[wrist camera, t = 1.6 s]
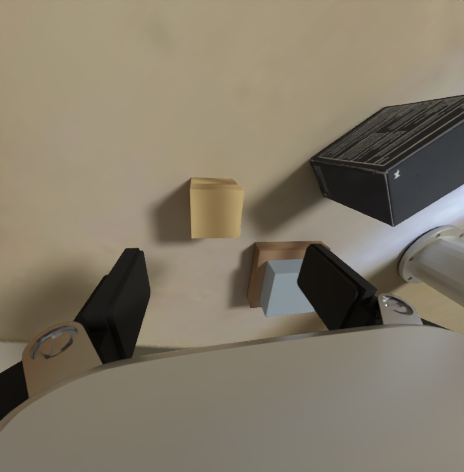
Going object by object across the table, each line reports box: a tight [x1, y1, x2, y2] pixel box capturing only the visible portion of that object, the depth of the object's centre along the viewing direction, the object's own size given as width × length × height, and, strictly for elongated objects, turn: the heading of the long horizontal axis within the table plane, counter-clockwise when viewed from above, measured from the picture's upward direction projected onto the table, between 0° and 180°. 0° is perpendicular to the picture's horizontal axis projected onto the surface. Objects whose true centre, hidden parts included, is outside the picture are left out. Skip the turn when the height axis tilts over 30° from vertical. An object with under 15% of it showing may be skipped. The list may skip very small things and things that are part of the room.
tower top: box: [260, 259, 315, 317], centre depth 27 cm, size 8×8×3 cm
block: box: [190, 178, 244, 238], centre depth 20 cm, size 5×5×6 cm
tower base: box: [247, 241, 330, 308], centre depth 30 cm, size 11×11×3 cm
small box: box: [310, 95, 464, 227], centre depth 19 cm, size 11×6×10 cm, turn 124°
